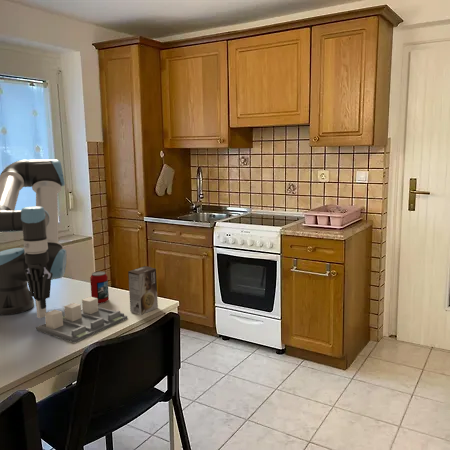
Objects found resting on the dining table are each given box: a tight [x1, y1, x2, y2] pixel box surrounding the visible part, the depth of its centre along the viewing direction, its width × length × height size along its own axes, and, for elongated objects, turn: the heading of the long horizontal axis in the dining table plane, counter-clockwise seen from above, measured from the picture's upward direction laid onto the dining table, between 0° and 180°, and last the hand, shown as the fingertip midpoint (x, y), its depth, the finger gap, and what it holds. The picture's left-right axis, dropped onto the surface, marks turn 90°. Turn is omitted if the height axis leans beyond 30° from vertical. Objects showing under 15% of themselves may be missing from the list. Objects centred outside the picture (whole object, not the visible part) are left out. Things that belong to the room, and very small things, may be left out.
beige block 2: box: [63, 302, 82, 322], centre depth 163 cm, size 4×4×5 cm
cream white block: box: [81, 296, 99, 314], centre depth 170 cm, size 4×4×5 cm
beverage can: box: [89, 270, 110, 305], centre depth 183 cm, size 7×7×12 cm
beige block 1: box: [44, 309, 63, 329], centre depth 156 cm, size 4×4×5 cm
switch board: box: [35, 306, 128, 344], centre depth 161 cm, size 20×24×3 cm
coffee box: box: [127, 265, 159, 316], centre depth 173 cm, size 9×6×16 cm
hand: (41, 316), depth 160 cm, fingers closed
